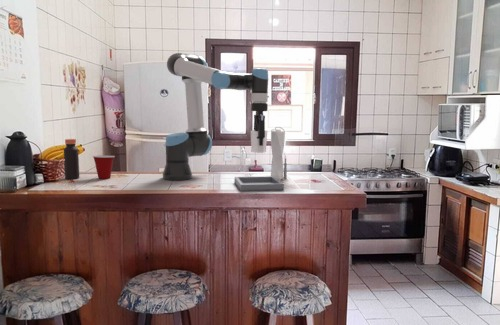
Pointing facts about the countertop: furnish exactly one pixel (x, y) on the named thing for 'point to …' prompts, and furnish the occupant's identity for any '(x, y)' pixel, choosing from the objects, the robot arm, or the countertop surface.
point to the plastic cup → (103, 166)
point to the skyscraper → (278, 154)
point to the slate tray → (259, 183)
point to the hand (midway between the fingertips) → (258, 151)
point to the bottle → (71, 159)
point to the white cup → (255, 141)
